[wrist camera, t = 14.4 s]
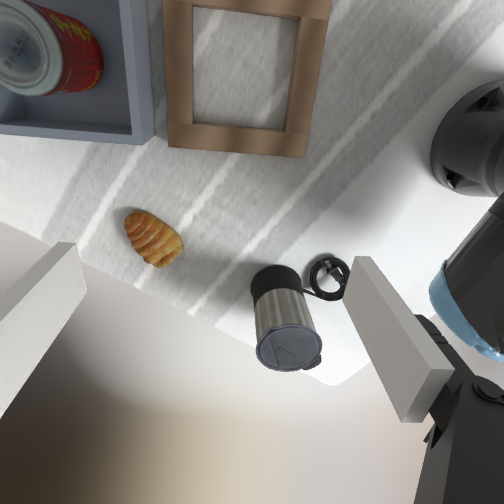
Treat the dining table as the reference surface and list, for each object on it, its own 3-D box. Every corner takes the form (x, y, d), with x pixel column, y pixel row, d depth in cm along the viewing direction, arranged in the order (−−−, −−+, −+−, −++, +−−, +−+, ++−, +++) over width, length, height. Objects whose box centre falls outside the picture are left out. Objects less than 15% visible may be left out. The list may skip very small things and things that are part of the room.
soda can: (32, 60, 34) (-54, 53, 24) (59, 0, 32) (-24, -38, 21) (92, 104, 37) (37, 116, 26) (121, 52, 35) (74, 42, 24)
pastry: (116, 223, 46) (107, 234, 43) (148, 198, 45) (142, 208, 41) (159, 264, 51) (154, 277, 47) (190, 243, 49) (187, 255, 46)
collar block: (329, -11, 34) (334, -16, 32) (301, 154, 43) (304, 158, 41) (163, -34, 32) (160, -40, 30) (171, 143, 41) (168, 147, 39)
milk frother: (239, 290, 54) (242, 357, 41) (297, 226, 48) (321, 280, 36) (297, 323, 59) (316, 391, 46) (356, 268, 53) (396, 329, 41)
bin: (145, -24, 32) (125, -47, 26) (155, 134, 40) (142, 145, 34) (-19, -47, 30) (-79, -76, 24) (26, 124, 38) (-12, 133, 32)
